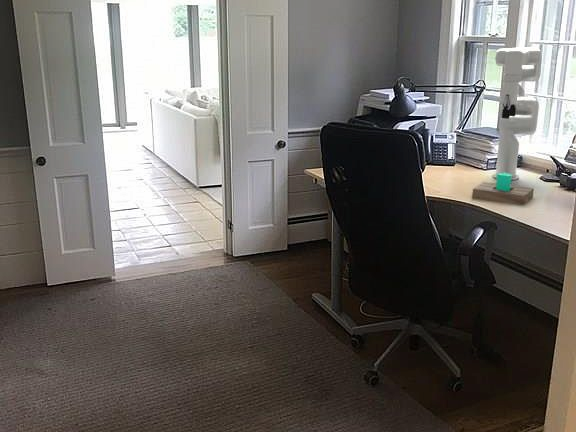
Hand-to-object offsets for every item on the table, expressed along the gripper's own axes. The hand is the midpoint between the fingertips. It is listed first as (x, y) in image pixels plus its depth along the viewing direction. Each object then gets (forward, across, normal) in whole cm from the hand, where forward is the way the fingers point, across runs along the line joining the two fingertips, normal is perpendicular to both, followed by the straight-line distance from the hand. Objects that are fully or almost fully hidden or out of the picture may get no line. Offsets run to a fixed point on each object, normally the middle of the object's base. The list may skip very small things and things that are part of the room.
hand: (508, 117), depth 276 cm
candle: (+34, +16, +5) cm, 37 cm away
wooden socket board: (+33, +16, +5) cm, 37 cm away
